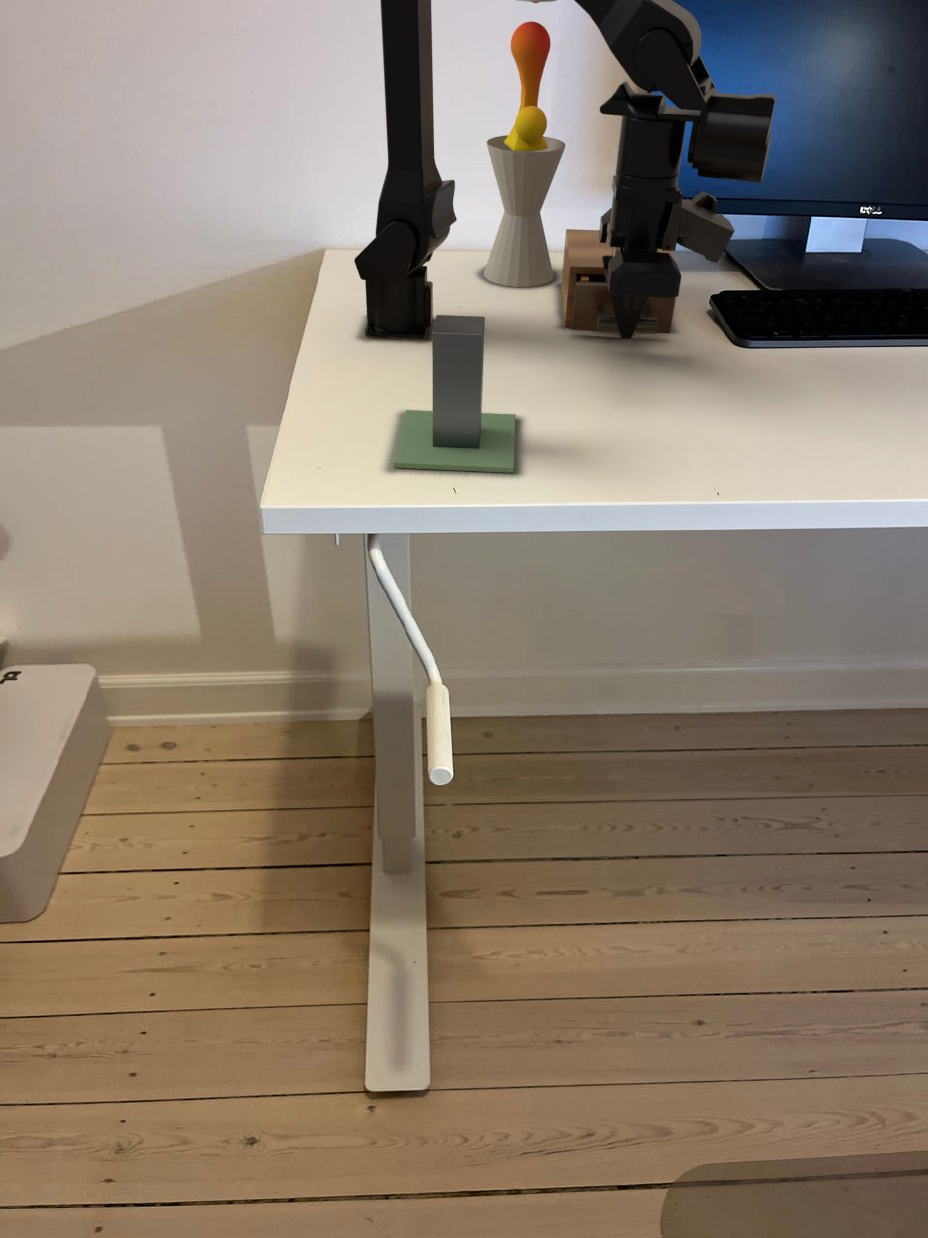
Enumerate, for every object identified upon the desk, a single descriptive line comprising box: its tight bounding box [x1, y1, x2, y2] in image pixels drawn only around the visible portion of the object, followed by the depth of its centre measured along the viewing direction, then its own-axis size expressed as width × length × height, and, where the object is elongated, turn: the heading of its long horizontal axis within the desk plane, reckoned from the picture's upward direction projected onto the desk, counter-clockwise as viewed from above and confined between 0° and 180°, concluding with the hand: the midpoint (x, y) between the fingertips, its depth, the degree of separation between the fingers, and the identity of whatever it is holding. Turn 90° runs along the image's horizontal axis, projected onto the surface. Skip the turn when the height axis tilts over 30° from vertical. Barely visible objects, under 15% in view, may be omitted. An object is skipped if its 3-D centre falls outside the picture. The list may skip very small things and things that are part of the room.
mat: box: [393, 409, 516, 474], centre depth 83 cm, size 10×10×1 cm
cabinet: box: [561, 228, 681, 332], centre depth 109 cm, size 14×12×7 cm
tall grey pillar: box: [431, 314, 486, 448], centre depth 80 cm, size 4×4×10 cm
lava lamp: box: [483, 0, 566, 288], centre depth 108 cm, size 9×9×35 cm
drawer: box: [571, 274, 676, 335], centre depth 104 cm, size 17×10×5 cm, turn 177°
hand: (625, 337), depth 97 cm, fingers closed
